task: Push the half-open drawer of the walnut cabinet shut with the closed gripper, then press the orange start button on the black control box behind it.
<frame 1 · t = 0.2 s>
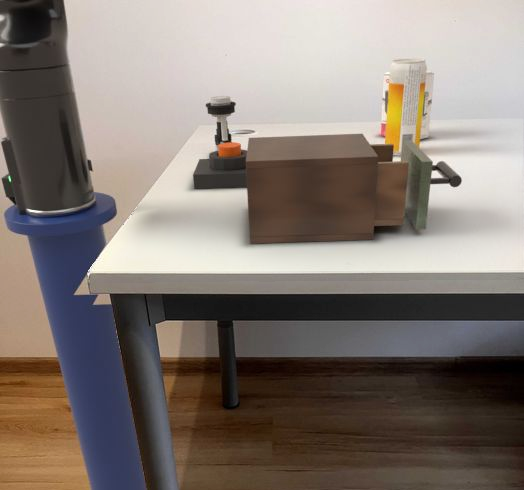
beer can: (401, 153, 107), on the table
ink box: (403, 138, 118), on the table
control box: (231, 179, 95), on the table
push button: (225, 157, 109), on the table
cabinet: (308, 224, 75), on the table
start button: (229, 150, 93), point 4 cm above the table, slide at 0.1 cm
drawer: (380, 184, 73), point 5 cm above the table, slide at 5.0 cm
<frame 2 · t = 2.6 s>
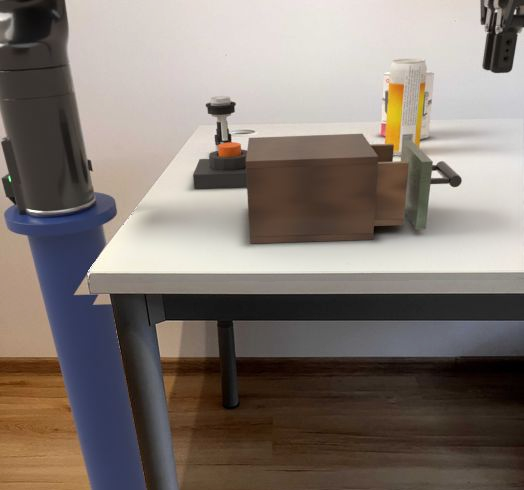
hand: (496, 70, 66), 17 cm above the table, tool pointing down, fingers closed
nothing on the table moved.
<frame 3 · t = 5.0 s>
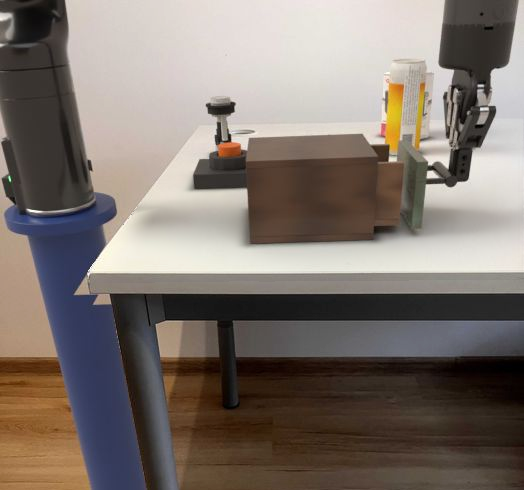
hand: (457, 180, 73), 5 cm above the table, tool pointing down, fingers closed
drawer: (376, 184, 73), point 5 cm above the table, slide at 4.5 cm, touching gripper
everything else where it was.
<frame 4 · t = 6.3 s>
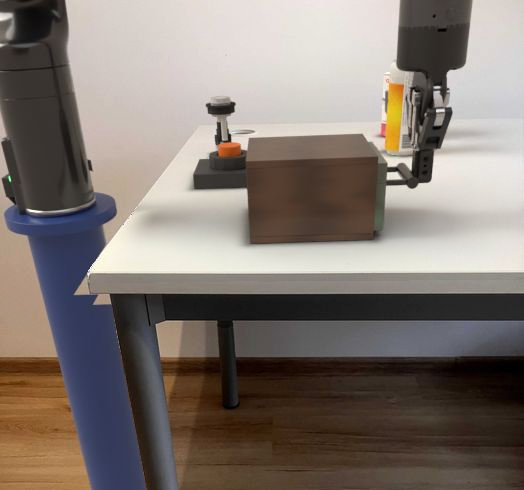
hand: (420, 181, 73), 5 cm above the table, tool pointing down, fingers closed
drawer: (339, 185, 73), point 5 cm above the table, slide at 0.0 cm, touching cabinet, gripper
everything else where it was.
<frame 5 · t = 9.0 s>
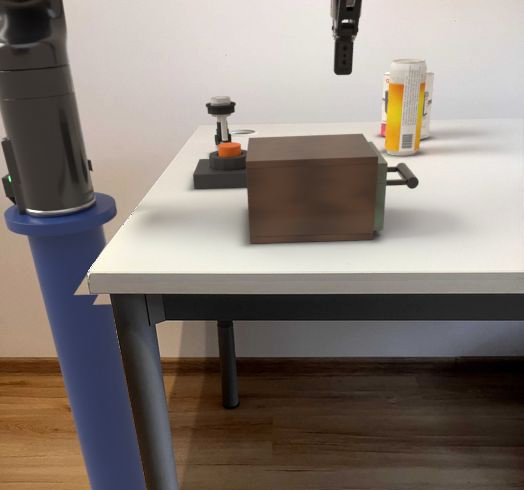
hand: (342, 74, 74), 16 cm above the table, tool pointing down, fingers closed
drawer: (339, 185, 73), point 5 cm above the table, slide at 0.0 cm
everything else where it was.
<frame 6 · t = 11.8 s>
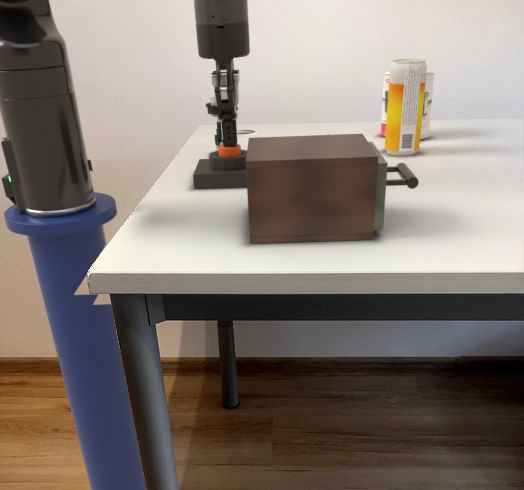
hand: (230, 145, 93), 5 cm above the table, tool pointing down, fingers closed
start button: (229, 151, 93), point 4 cm above the table, slide at -0.1 cm, touching gripper
everything else where it was.
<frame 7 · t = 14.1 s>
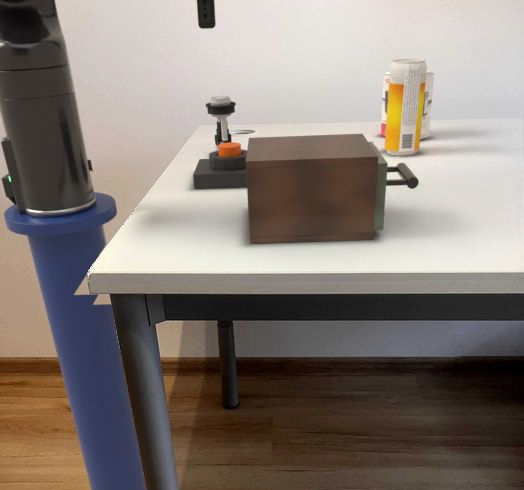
hand: (207, 28, 79), 22 cm above the table, tool pointing down, fingers closed
start button: (229, 150, 93), point 4 cm above the table, slide at 0.1 cm
everything else where it was.
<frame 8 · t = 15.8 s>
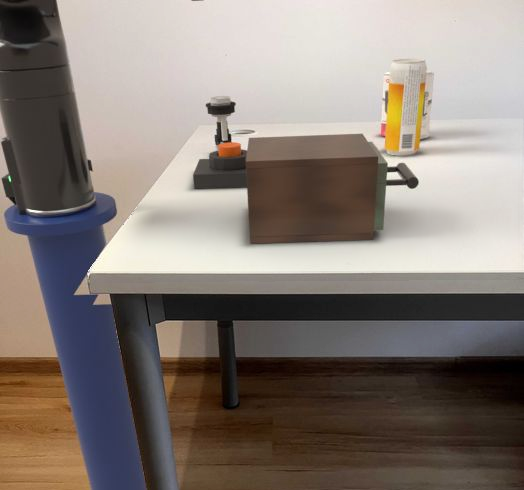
hand: (198, 0, 74), 25 cm above the table, tool pointing down, fingers closed
nothing on the table moved.
at the end: drawer slide at 0.0 cm; start button pushed in 1.1 cm at the most during the clip, back to where it started at the end; start button slide at 0.1 cm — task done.
